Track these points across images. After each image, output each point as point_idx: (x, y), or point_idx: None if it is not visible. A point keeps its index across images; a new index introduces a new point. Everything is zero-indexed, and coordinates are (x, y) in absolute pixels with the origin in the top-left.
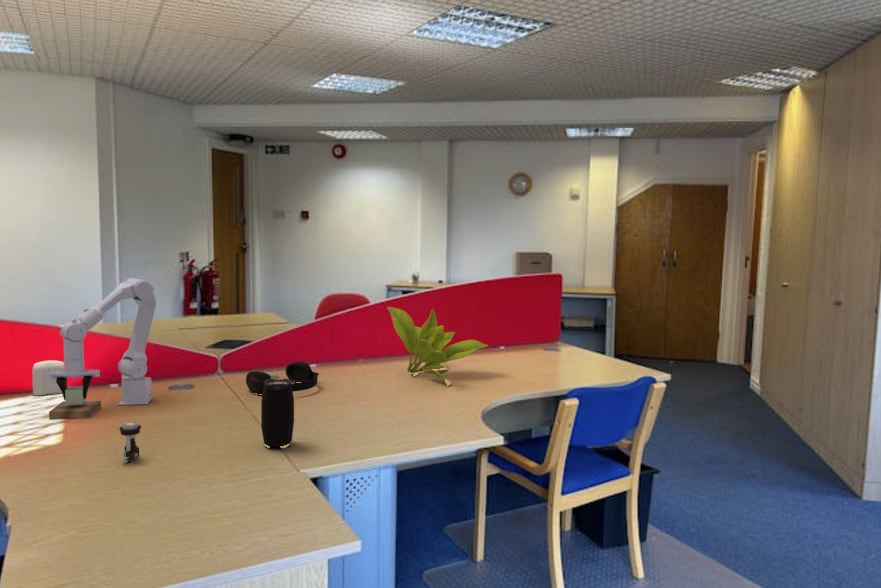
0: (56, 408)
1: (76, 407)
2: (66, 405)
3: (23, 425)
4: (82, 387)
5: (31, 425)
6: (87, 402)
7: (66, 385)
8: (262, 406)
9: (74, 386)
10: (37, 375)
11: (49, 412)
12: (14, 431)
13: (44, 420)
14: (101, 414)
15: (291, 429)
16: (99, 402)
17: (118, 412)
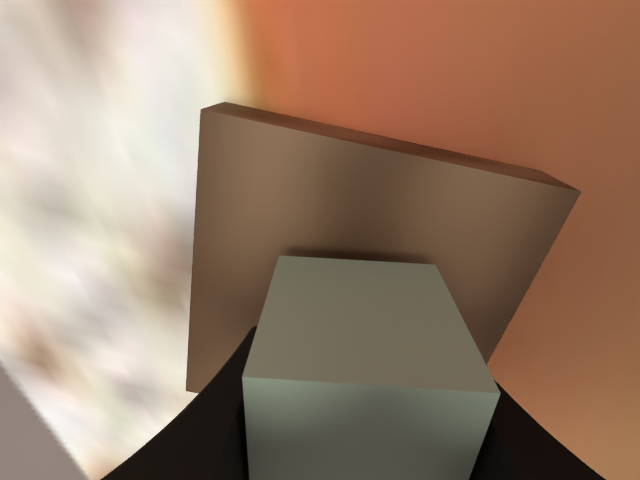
0: (213, 332)
1: None
2: (271, 271)
3: (105, 406)
4: (456, 460)
5: (147, 416)
6: (447, 225)
7: (227, 471)
8: None
9: (339, 382)
10: None
11: (190, 386)
12: (106, 467)
13: (183, 360)
14: (510, 343)
15: None
16: (553, 231)
17: (625, 333)
